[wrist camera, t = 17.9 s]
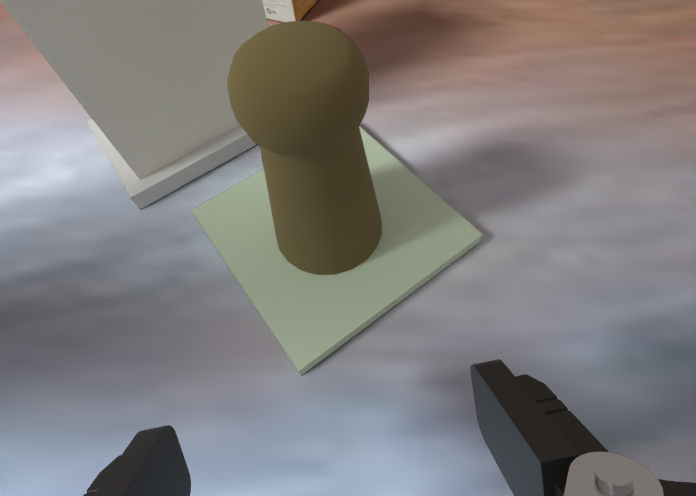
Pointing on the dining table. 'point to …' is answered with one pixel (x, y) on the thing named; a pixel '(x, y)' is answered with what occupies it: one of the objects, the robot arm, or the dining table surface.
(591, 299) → the dining table surface
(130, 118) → the housing
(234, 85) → the cork
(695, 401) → the dining table surface
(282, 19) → the small box
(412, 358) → the dining table surface
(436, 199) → the plate
